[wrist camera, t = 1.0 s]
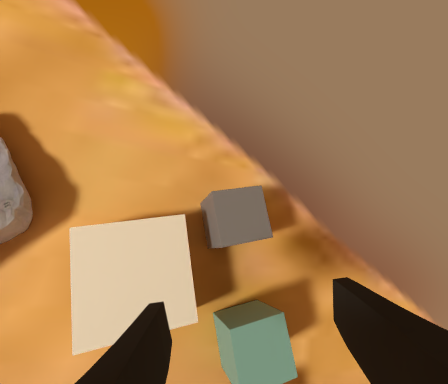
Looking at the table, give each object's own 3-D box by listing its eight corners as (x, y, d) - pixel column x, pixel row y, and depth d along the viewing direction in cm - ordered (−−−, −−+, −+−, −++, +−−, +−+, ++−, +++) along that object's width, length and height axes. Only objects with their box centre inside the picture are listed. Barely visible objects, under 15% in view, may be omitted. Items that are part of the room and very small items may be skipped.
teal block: (266, 349, 21) (297, 376, 17) (221, 366, 20) (241, 401, 15) (256, 299, 22) (283, 312, 18) (212, 312, 21) (229, 329, 16)
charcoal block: (249, 240, 24) (273, 237, 19) (207, 248, 22) (221, 247, 18) (241, 198, 24) (261, 185, 20) (200, 203, 23) (211, 191, 18)
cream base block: (190, 309, 21) (198, 322, 17) (89, 334, 18) (72, 355, 15) (179, 220, 22) (184, 214, 19) (85, 232, 20) (69, 227, 16)
